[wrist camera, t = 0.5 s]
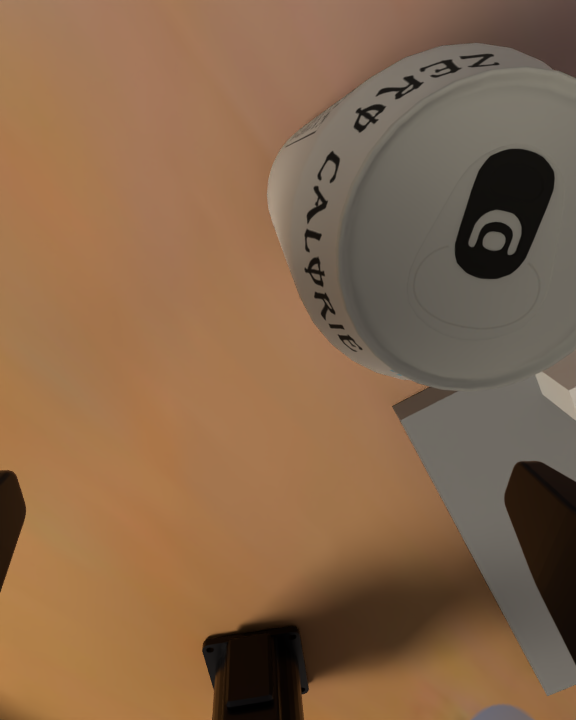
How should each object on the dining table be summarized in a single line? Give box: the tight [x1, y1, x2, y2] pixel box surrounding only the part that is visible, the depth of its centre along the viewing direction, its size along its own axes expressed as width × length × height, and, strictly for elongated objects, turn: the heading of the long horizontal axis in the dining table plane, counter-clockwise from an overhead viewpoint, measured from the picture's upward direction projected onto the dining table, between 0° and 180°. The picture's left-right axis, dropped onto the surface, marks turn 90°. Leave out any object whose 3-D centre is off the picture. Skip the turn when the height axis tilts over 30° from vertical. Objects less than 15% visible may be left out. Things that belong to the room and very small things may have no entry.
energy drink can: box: [267, 43, 576, 392], centre depth 14 cm, size 6×6×15 cm
